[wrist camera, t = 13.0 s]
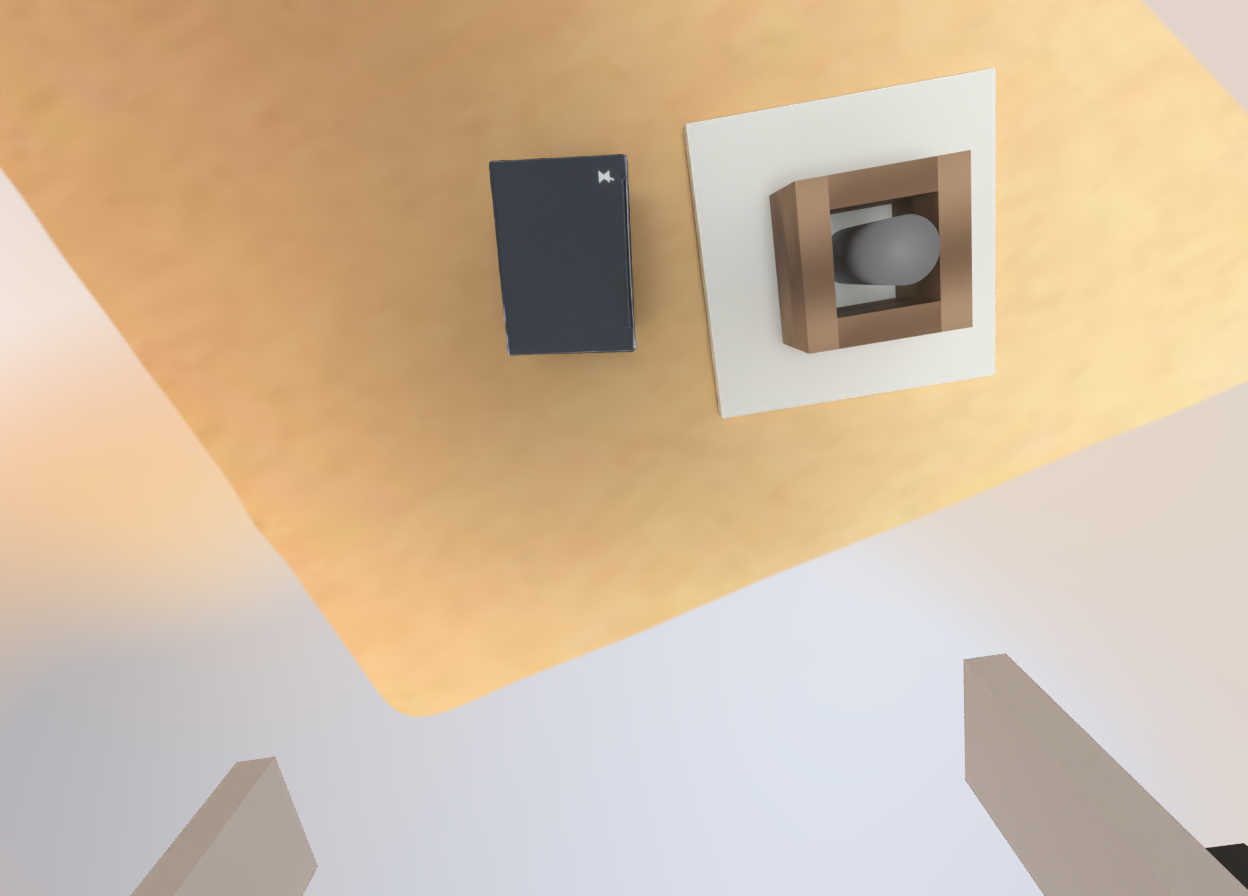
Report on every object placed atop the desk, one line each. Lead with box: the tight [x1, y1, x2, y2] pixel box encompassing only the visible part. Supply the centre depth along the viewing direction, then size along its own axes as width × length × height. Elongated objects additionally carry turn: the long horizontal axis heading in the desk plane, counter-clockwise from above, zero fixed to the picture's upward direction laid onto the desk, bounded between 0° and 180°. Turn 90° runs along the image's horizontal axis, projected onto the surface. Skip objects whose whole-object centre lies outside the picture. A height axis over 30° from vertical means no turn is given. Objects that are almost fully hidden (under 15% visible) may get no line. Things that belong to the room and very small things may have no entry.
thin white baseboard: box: [684, 68, 996, 419], centre depth 31 cm, size 16×16×8 cm
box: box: [489, 154, 637, 356], centre depth 30 cm, size 8×6×11 cm
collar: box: [769, 150, 973, 354], centre depth 31 cm, size 8×8×5 cm
